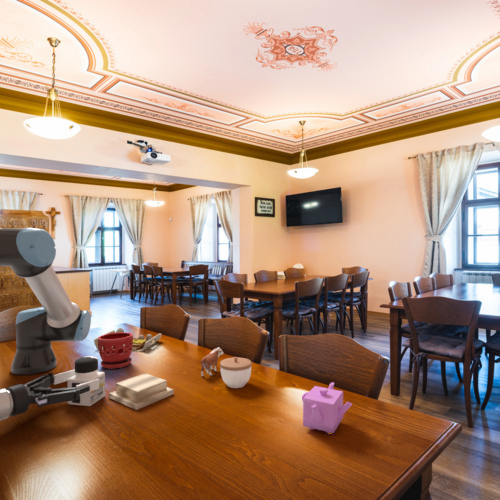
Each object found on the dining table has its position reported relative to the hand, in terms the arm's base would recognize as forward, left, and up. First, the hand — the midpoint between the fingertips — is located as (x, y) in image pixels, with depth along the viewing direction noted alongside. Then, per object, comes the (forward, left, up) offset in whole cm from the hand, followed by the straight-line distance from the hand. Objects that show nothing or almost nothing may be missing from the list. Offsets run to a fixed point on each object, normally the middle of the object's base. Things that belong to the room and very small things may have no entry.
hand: (86, 378), depth 111 cm
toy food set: (-42, +44, -8) cm, 62 cm away
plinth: (+11, +12, -7) cm, 18 cm away
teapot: (+66, +29, -7) cm, 72 cm away
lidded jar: (+29, +37, -7) cm, 47 cm away
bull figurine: (+14, +41, -7) cm, 44 cm away
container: (0, 0, -7) cm, 7 cm away
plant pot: (-22, +24, -7) cm, 34 cm away
